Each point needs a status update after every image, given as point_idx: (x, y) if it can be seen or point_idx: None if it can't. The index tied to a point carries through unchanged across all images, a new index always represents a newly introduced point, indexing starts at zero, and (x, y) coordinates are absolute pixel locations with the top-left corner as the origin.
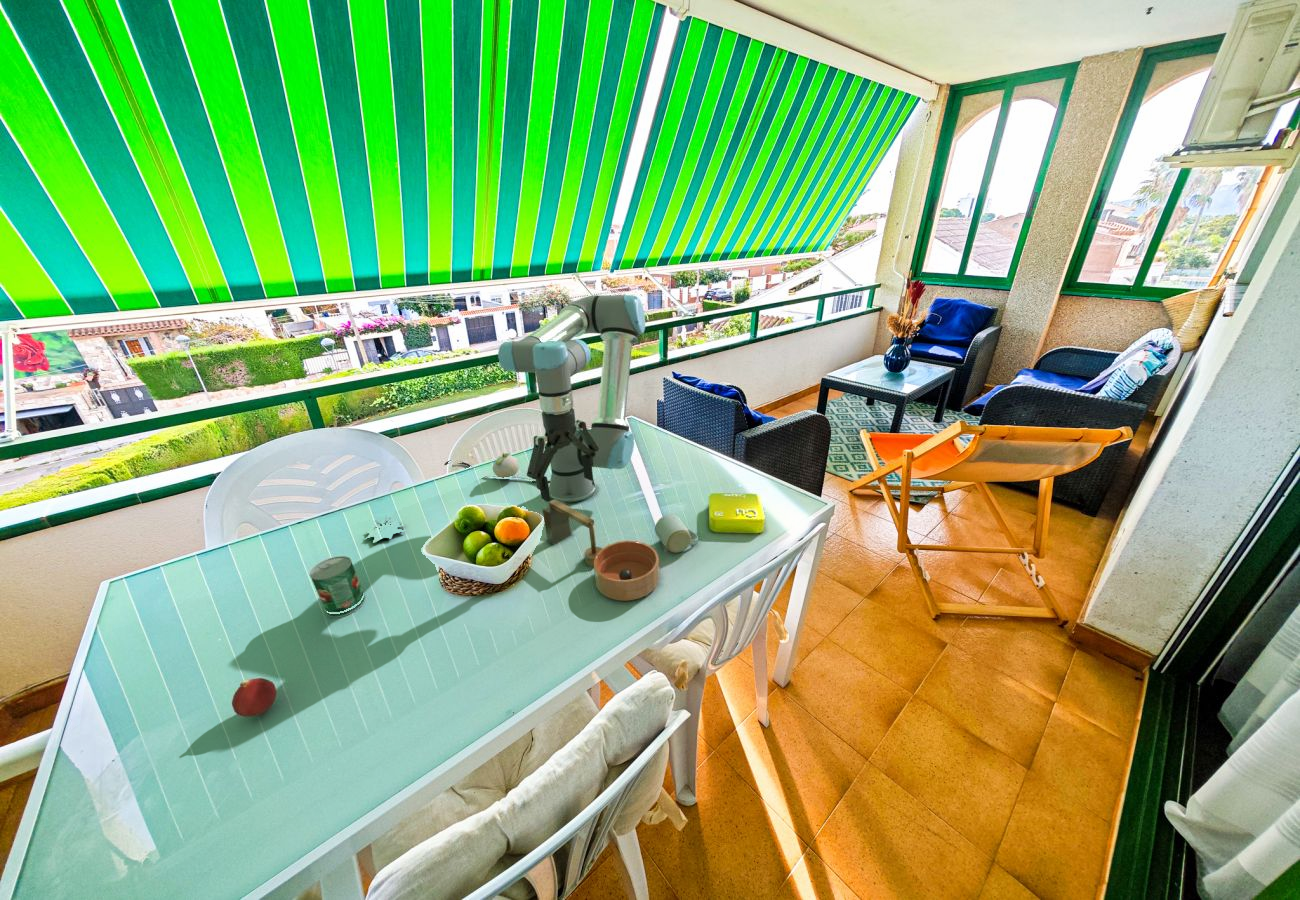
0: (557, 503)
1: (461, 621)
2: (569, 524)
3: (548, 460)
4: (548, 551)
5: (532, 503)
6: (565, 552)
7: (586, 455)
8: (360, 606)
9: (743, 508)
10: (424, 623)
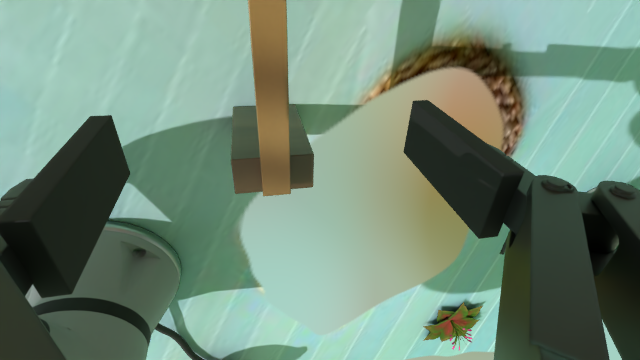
0: (274, 167)
1: (583, 24)
2: (233, 122)
3: (572, 281)
4: (321, 91)
5: (228, 277)
6: (293, 50)
7: (26, 273)
8: (592, 190)
9: None
10: (601, 78)
